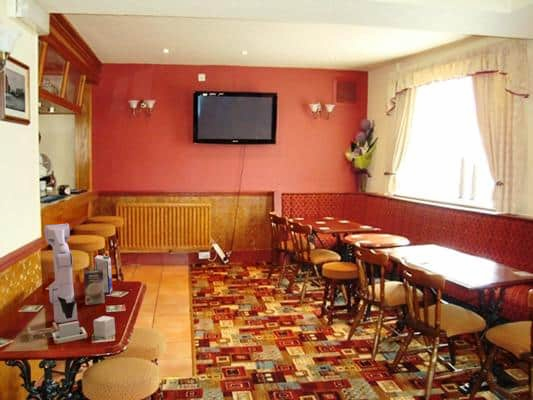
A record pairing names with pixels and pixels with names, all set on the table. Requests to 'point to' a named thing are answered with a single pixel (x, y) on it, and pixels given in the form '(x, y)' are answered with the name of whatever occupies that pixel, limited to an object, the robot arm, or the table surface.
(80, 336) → the tray
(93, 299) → the coffee box
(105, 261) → the milk carton
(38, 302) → the table surface
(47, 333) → the offcut
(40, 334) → the offcut
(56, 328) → the rack
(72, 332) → the block
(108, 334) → the skincare box
